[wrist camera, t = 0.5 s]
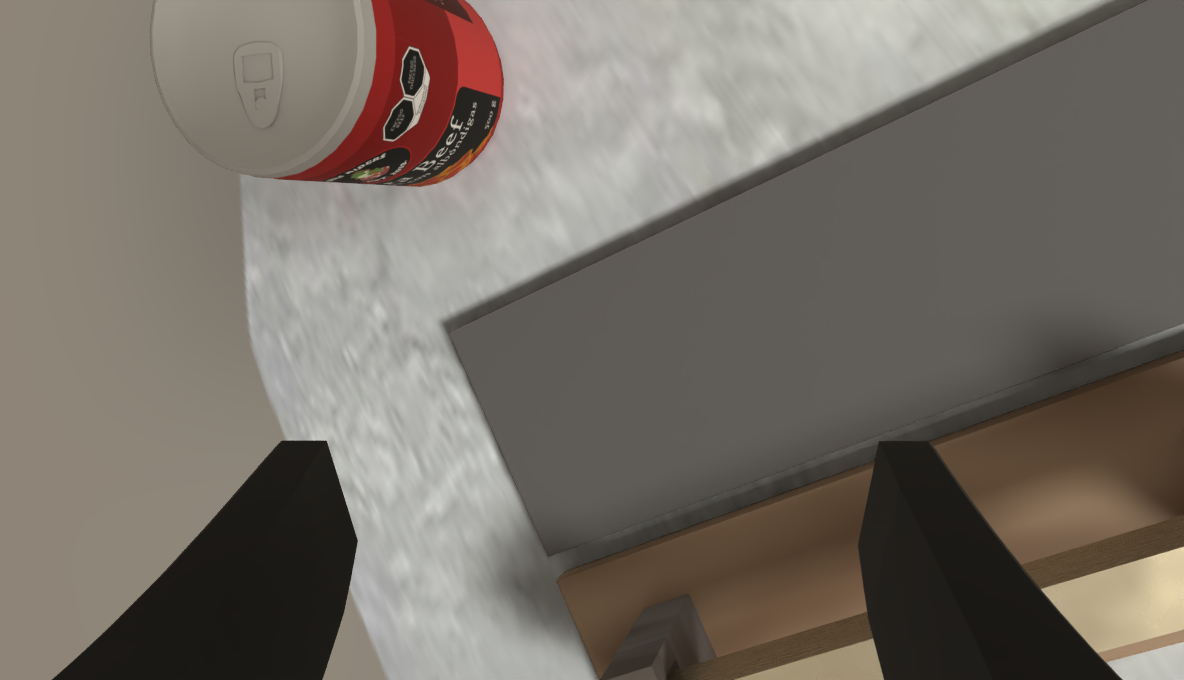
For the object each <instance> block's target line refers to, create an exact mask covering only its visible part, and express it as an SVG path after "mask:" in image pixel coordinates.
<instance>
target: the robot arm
mask: <svg viewBox="0 0 1184 680" xmlns="http://www.w3.org/2000/svg"><path fill="white" fill-rule="evenodd" d="M357 542H358V540H357V537H356V534H355V531H354V527H353V524H352V521H351V518H350V514H349V511H348V508H347V505H346V502H345V498H344V495H343V492H342V489H341V485H340V482H339V479H338V476H337V473H336V469H335V466H334V463H333V460H332V457H331V453H330V450H329V447H328V444H327V441H281V442H280V443H279V444H278V445H277V446H276V447H275V448H274V449H273V451H272V452H271V453H270V454H269V455H268V456H267V457H266V458H265V460H264V461H263V462H262V463H261V464H260V465H259V466H258V468H257V469H256V470H255V471H254V472H253V474H252V475H251V476H250V477H249V478H248V479H247V480H246V481H245V483H244V484H243V485H242V486H241V487H240V488H239V489H238V491H237V492H236V493H235V494H234V495H233V497H232V498H231V499H230V500H229V501H228V502H227V503H226V504H225V506H224V507H223V508H222V509H221V510H220V511H219V512H218V513H217V515H216V516H215V517H214V518H213V519H212V520H211V521H210V523H209V524H208V525H207V526H206V527H205V528H204V529H203V530H202V531H201V532H200V534H199V535H198V536H197V537H196V538H195V539H194V540H193V541H192V542H191V543H190V545H189V546H188V547H187V548H186V549H185V550H184V551H183V552H182V553H181V554H180V555H179V557H178V558H177V559H176V560H175V561H174V562H173V563H172V564H171V565H170V566H169V567H168V568H167V570H166V571H165V572H164V573H163V574H162V575H161V576H160V577H159V578H158V579H157V580H156V581H155V582H154V583H153V584H152V585H151V586H150V587H149V588H148V589H147V590H146V591H145V592H144V593H143V594H142V595H141V596H140V597H139V598H138V599H137V600H136V601H135V602H134V603H133V604H132V605H131V606H130V607H129V608H128V609H127V610H126V611H125V612H124V613H123V614H122V615H121V616H120V617H119V618H118V619H117V620H116V621H115V622H114V623H113V624H112V625H111V626H110V627H109V628H108V629H107V630H106V631H105V632H104V633H103V634H102V635H101V636H100V637H99V638H98V639H96V640H95V641H94V642H93V643H92V644H91V645H90V646H89V647H88V648H87V649H86V650H85V651H84V652H82V653H81V654H80V655H79V656H78V657H77V658H76V659H75V660H74V661H73V662H71V663H70V664H69V665H68V666H67V667H66V668H65V669H64V670H62V671H61V672H60V673H59V674H58V675H57V676H56V677H54V678H53V679H52V680H322V679H323V676H324V673H325V670H326V667H327V664H328V661H329V658H330V654H331V651H332V648H333V645H334V642H335V639H336V636H337V633H338V630H339V627H340V623H341V620H342V617H343V614H344V609H345V605H346V600H347V595H348V590H349V586H350V581H351V575H352V570H353V564H354V559H355V553H356V548H357ZM858 550H859V558H860V565H861V573H862V580H863V587H864V594H865V601H866V607H867V614H868V620H869V624H870V628H871V632H872V636H873V640H874V644H875V647H876V651H877V655H878V659H879V663H880V666H881V670H882V674H883V678H884V680H1122V679H1121V678H1120V677H1119V676H1118V675H1117V674H1116V673H1115V672H1114V670H1113V669H1112V668H1111V667H1110V666H1109V665H1108V664H1107V663H1106V662H1105V661H1104V660H1103V659H1102V658H1101V657H1100V656H1099V655H1098V654H1097V652H1096V651H1095V650H1094V649H1093V648H1092V647H1091V646H1090V645H1089V644H1088V643H1087V641H1086V640H1085V639H1084V638H1083V637H1082V636H1081V635H1080V634H1079V633H1078V631H1077V630H1076V629H1075V628H1074V627H1073V626H1072V625H1071V624H1070V622H1069V621H1068V620H1067V619H1066V618H1065V617H1064V616H1063V615H1062V614H1061V612H1060V611H1059V610H1058V609H1057V608H1056V606H1055V605H1054V604H1053V603H1052V602H1051V601H1050V599H1049V598H1048V597H1047V596H1046V595H1045V594H1044V592H1043V591H1042V590H1041V589H1040V588H1039V586H1038V585H1037V584H1036V583H1035V581H1034V580H1033V579H1032V578H1031V576H1030V575H1029V574H1028V573H1027V572H1026V570H1025V569H1024V568H1023V567H1022V565H1021V564H1020V563H1019V562H1018V560H1017V559H1016V558H1015V557H1014V555H1013V554H1012V553H1011V552H1010V551H1009V549H1008V548H1007V547H1006V545H1005V544H1004V543H1003V542H1002V540H1001V539H1000V538H999V536H998V535H997V534H996V532H995V531H994V530H993V529H992V527H991V526H990V525H989V523H988V522H987V521H986V519H985V518H984V517H983V515H982V514H981V512H980V511H979V510H978V508H977V507H976V506H975V504H974V503H973V502H972V500H971V499H970V498H969V496H968V495H967V493H966V492H965V491H964V489H963V488H962V486H961V485H960V484H959V482H958V481H957V479H956V478H955V477H954V475H953V474H952V472H951V471H950V469H949V468H948V467H947V465H946V464H945V462H944V461H943V459H942V458H941V456H940V455H939V454H938V452H937V451H936V449H935V448H934V447H933V446H932V445H931V444H930V443H929V442H928V441H879V444H878V449H877V454H876V459H875V464H874V468H873V473H872V478H871V483H870V488H869V493H868V498H867V503H866V508H865V512H864V517H863V522H862V527H861V532H860V537H859V542H858Z"/></svg>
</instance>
